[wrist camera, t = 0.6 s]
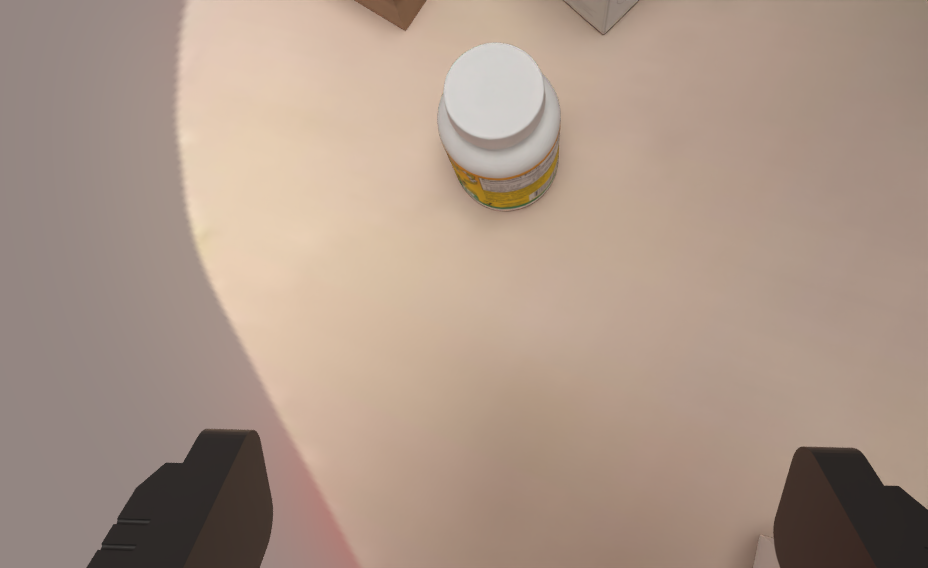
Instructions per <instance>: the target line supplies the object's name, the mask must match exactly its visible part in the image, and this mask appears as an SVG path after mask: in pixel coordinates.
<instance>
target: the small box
mask: <svg viewBox="0 0 928 568" xmlns="http://www.w3.org/2000/svg"><path fill="white" fill-rule="evenodd" d="M564 1H565V2H566V3H567V4H569V5H570V6H571V7H572V8H573V9H574V10H575V11H576V12H578V13H579V14H580V15H581V16H582V17H583V18H585V19H586V20H587V21H588V22H589V23H591V24H592V25H593V26H594V27H595V28H596V29H597V30H599V31H600V32H601V33H602V34H605V33H606V32H607V31H608V30H609V29H610V28H611V27H612V26H613V25H614V24H615V23H616V22H617V21H618V20H619V19H620V18H621V17H622V16H623V15H624V14H625V13H626V12H627V11H628V10H629V9H630V8H631V7H632V6H633V5H634V4H635V3H636V2H637V1H638V0H564Z"/></svg>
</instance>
